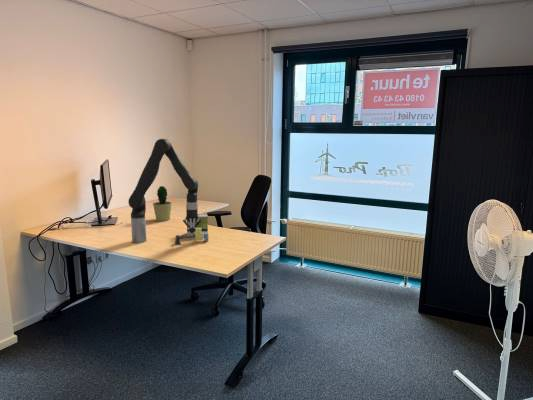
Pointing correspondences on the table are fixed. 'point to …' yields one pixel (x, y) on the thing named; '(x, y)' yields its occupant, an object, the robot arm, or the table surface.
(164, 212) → the potted cactus
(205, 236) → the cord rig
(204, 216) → the tea box
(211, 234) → the table surface
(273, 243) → the table surface
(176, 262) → the table surface
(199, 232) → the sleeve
